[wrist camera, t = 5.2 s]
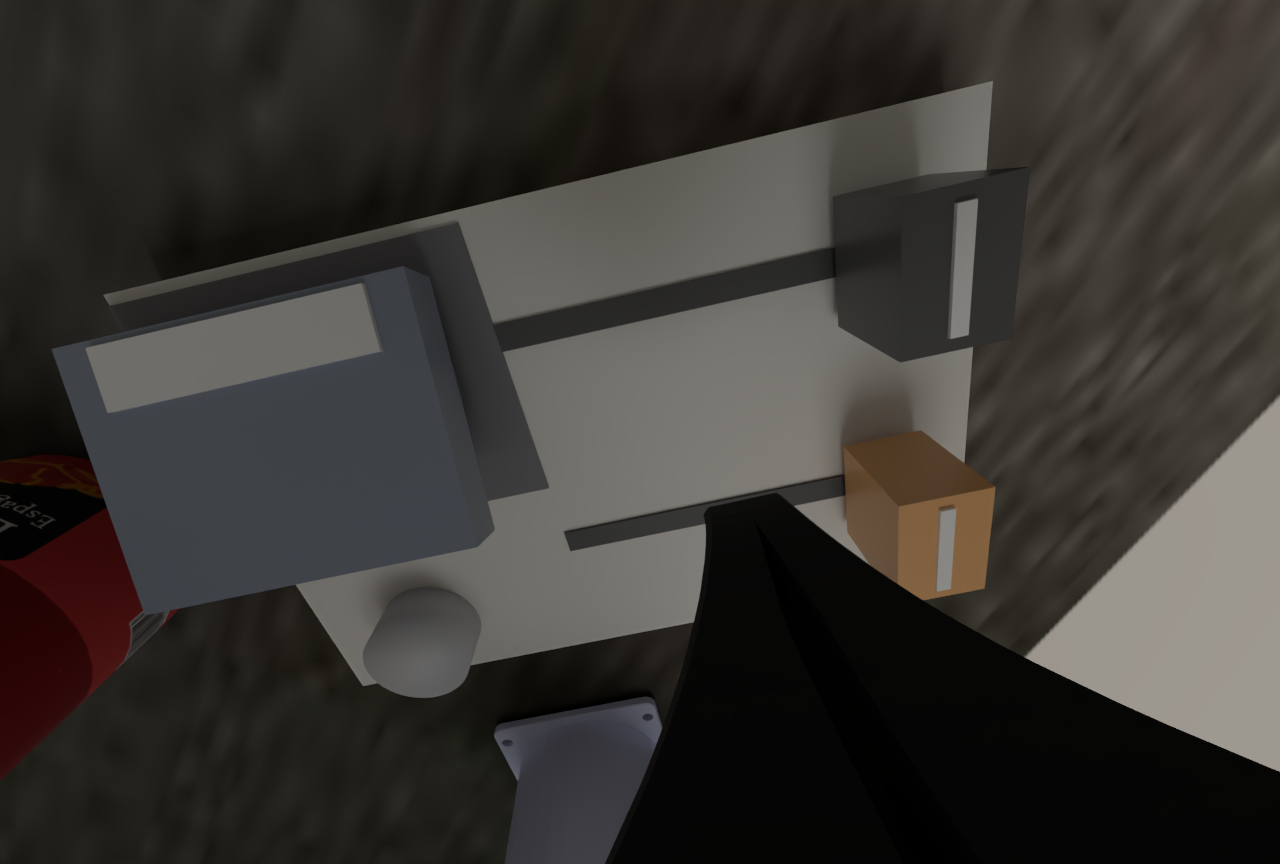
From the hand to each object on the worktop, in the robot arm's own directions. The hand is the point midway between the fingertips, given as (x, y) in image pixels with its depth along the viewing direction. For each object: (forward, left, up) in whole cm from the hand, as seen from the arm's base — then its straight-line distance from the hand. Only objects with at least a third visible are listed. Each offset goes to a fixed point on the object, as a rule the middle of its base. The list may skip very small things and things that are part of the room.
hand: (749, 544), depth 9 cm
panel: (-1, +3, -9) cm, 10 cm away
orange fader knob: (-4, -6, -7) cm, 10 cm away
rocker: (+2, +11, -5) cm, 12 cm away
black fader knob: (+3, -6, -7) cm, 10 cm away
